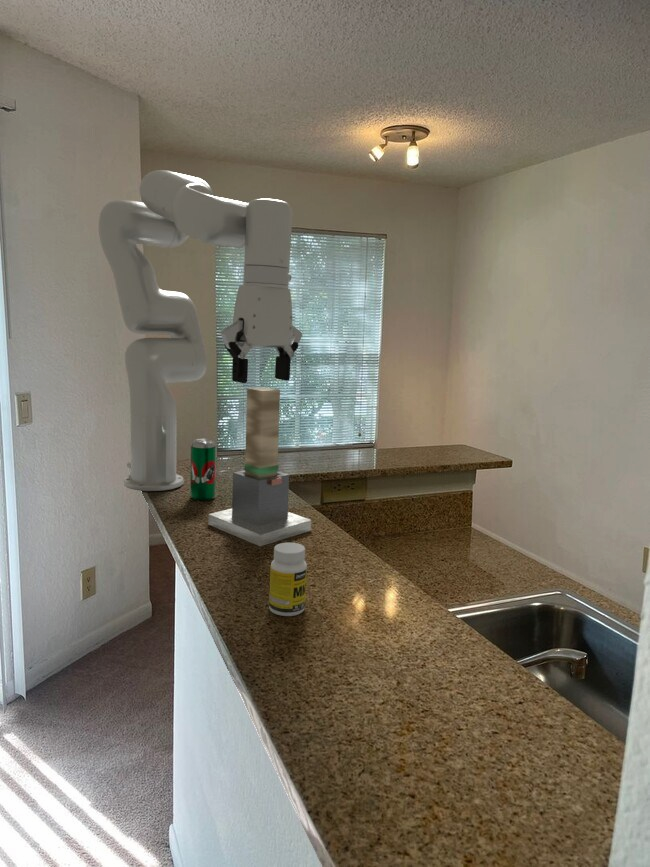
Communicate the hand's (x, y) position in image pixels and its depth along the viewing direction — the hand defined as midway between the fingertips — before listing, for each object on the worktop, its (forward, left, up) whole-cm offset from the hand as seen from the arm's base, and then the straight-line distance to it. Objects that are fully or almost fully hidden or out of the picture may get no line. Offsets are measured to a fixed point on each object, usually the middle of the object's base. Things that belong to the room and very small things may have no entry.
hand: (261, 380), depth 107 cm
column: (+1, 0, -17) cm, 17 cm away
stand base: (+1, 0, -26) cm, 26 cm away
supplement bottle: (+27, -18, -27) cm, 42 cm away
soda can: (-20, +3, -27) cm, 34 cm away
